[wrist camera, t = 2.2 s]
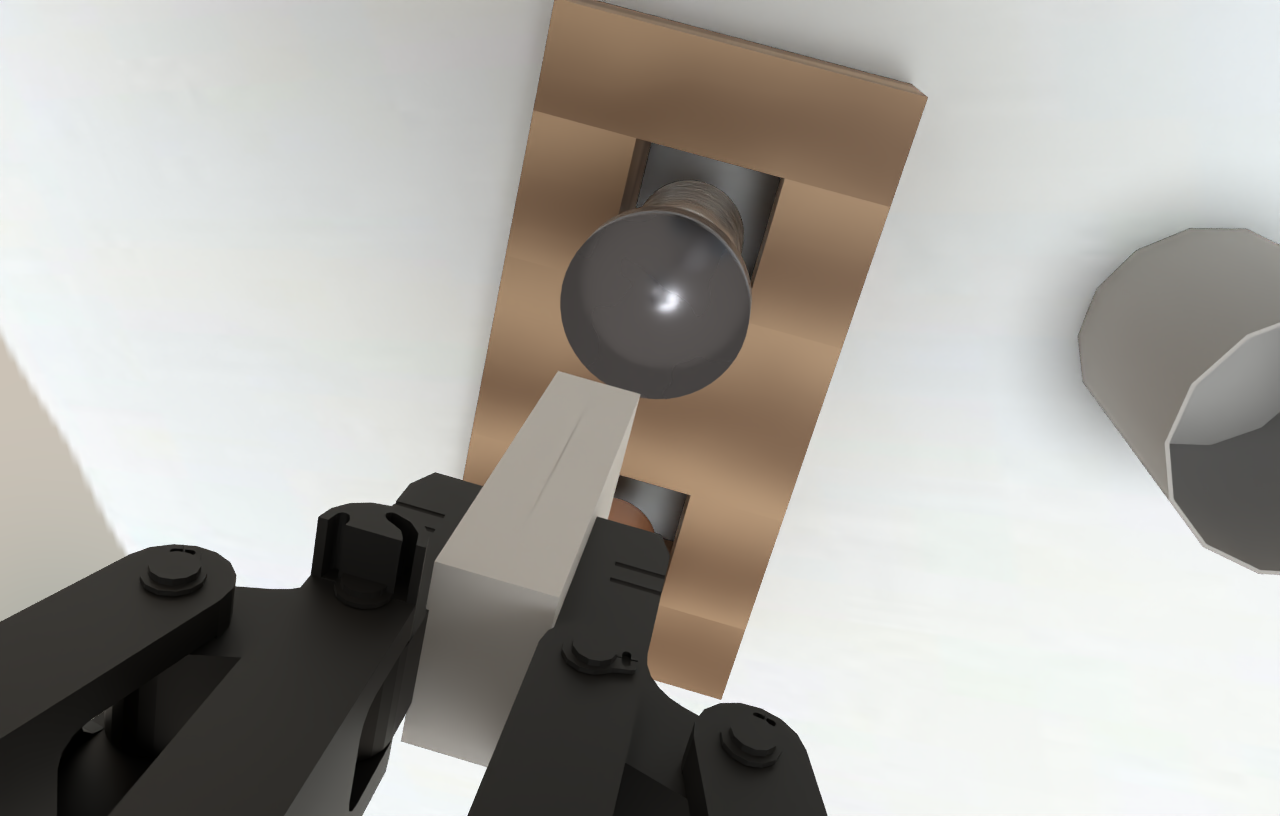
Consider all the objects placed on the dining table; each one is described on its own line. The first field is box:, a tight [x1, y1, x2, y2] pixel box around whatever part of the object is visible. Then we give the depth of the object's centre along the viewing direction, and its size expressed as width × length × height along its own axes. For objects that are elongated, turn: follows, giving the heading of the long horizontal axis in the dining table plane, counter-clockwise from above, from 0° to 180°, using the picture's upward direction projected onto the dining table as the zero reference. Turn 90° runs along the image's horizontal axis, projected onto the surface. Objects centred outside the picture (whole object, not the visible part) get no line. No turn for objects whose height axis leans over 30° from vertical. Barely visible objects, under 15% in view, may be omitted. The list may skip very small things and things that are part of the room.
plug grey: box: [560, 180, 752, 399], centre depth 29 cm, size 5×5×9 cm
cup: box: [1078, 228, 1280, 575], centre depth 33 cm, size 8×8×10 cm
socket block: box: [463, 0, 928, 700], centre depth 39 cm, size 24×12×5 cm, turn 166°
